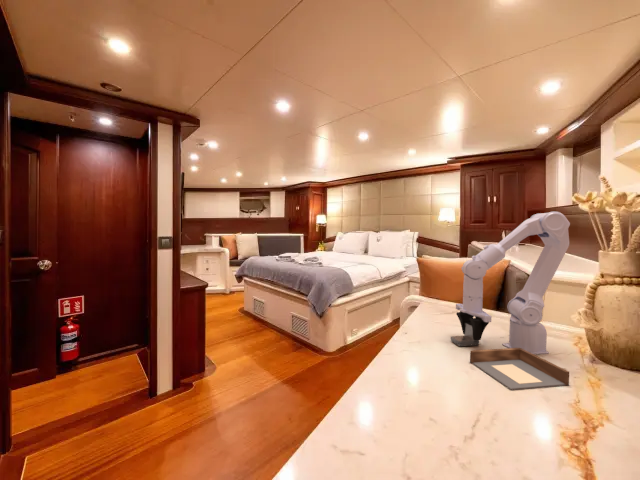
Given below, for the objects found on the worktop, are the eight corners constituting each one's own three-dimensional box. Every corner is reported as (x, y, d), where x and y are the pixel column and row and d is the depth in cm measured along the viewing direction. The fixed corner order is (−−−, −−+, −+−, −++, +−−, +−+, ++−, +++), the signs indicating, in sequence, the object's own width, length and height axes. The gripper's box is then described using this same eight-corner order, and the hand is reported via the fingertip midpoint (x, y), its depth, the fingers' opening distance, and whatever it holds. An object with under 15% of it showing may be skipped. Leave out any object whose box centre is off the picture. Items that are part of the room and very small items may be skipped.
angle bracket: (469, 339, 95) (470, 322, 94) (479, 345, 90) (479, 326, 90) (450, 340, 93) (451, 323, 93) (459, 346, 89) (459, 327, 89)
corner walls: (519, 358, 81) (519, 347, 81) (568, 385, 67) (569, 371, 67) (470, 362, 79) (470, 350, 79) (510, 390, 65) (511, 376, 65)
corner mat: (519, 358, 81) (519, 357, 81) (568, 385, 67) (568, 383, 67) (470, 362, 79) (470, 360, 79) (510, 390, 65) (510, 388, 65)
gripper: (448, 291, 98) (447, 329, 99) (477, 302, 84) (476, 346, 84) (466, 291, 99) (465, 328, 100) (498, 301, 85) (496, 345, 85)
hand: (471, 336), depth 92 cm, fingers closed on angle bracket, 4 cm apart
